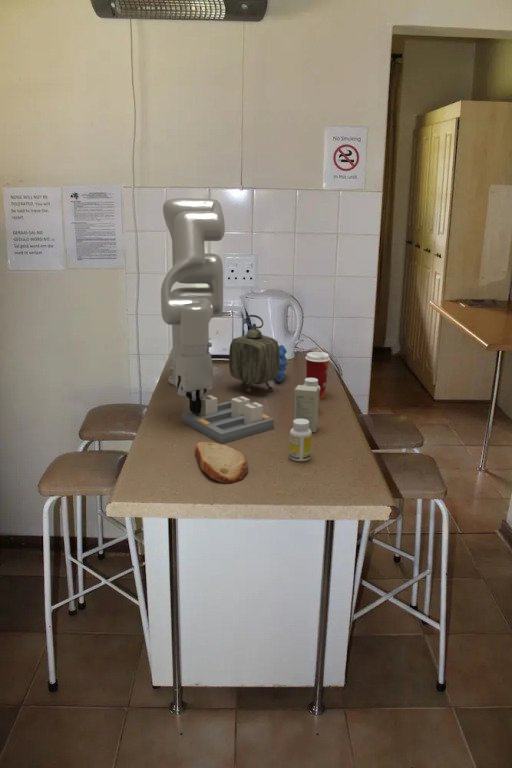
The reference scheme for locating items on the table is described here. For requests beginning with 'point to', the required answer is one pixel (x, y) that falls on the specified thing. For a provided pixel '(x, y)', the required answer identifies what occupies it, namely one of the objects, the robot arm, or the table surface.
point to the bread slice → (221, 462)
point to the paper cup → (318, 369)
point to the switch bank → (225, 424)
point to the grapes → (281, 363)
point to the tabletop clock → (254, 357)
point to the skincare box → (307, 405)
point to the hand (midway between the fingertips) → (195, 412)
